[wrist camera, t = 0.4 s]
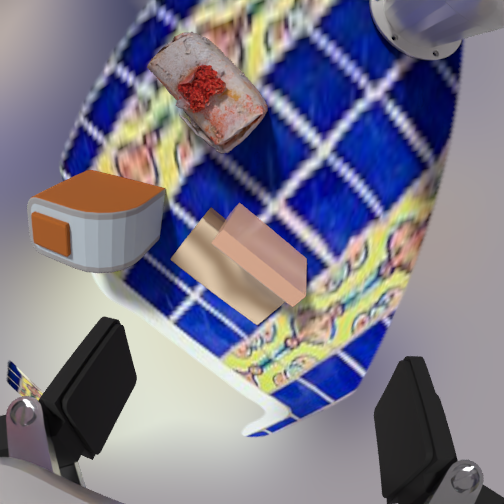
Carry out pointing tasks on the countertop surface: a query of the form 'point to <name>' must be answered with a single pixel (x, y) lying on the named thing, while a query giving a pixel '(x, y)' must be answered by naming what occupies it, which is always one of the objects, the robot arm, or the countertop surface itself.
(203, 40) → the food item
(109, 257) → the alarm clock
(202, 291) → the countertop surface
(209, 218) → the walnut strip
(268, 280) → the tile
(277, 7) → the countertop surface
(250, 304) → the tan flat rectangular panel
